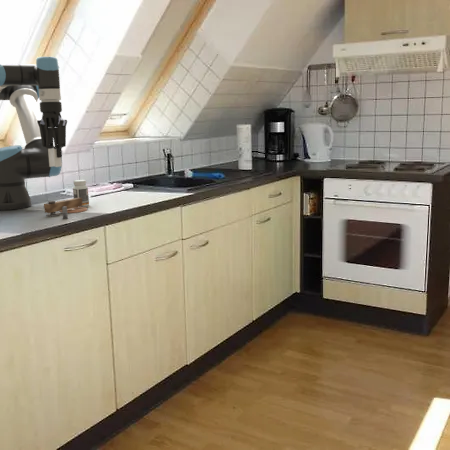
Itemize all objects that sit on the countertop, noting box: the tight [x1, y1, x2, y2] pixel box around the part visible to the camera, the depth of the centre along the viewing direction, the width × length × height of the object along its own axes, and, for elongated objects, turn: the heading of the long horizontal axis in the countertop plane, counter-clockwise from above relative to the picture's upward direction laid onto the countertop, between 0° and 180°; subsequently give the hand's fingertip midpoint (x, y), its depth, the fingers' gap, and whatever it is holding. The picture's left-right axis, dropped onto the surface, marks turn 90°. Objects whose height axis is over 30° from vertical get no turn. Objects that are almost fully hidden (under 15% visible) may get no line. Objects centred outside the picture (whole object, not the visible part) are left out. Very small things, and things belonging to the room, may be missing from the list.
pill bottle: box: [72, 179, 90, 207], centre depth 227 cm, size 6×6×10 cm
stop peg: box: [61, 207, 69, 220], centre depth 203 cm, size 2×2×4 cm
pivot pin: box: [46, 212, 60, 217], centre depth 210 cm, size 4×4×1 cm
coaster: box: [59, 206, 88, 214], centre depth 218 cm, size 10×10×1 cm
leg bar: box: [43, 197, 83, 214], centre depth 214 cm, size 16×2×4 cm, turn 148°
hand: (55, 166), depth 216 cm, fingers open, 2 cm apart
